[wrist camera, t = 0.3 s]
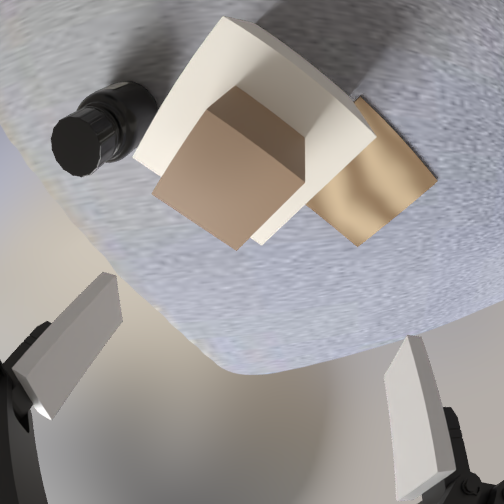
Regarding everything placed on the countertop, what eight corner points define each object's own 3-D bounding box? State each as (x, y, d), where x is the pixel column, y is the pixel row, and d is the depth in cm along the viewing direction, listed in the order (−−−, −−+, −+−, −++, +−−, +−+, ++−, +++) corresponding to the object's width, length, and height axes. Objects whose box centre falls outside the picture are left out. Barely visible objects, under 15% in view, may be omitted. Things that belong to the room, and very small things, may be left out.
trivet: (359, 96, 31) (360, 97, 30) (436, 179, 35) (437, 181, 35) (277, 180, 39) (276, 182, 39) (357, 245, 44) (357, 247, 43)
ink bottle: (121, 65, 31) (60, 87, 22) (173, 102, 34) (126, 134, 25) (91, 123, 37) (35, 159, 28) (137, 157, 40) (91, 202, 31)
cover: (254, 23, 27) (186, 9, 10) (348, 96, 31) (403, 181, 14) (189, 110, 35) (85, 202, 18) (276, 171, 38) (249, 307, 22)
